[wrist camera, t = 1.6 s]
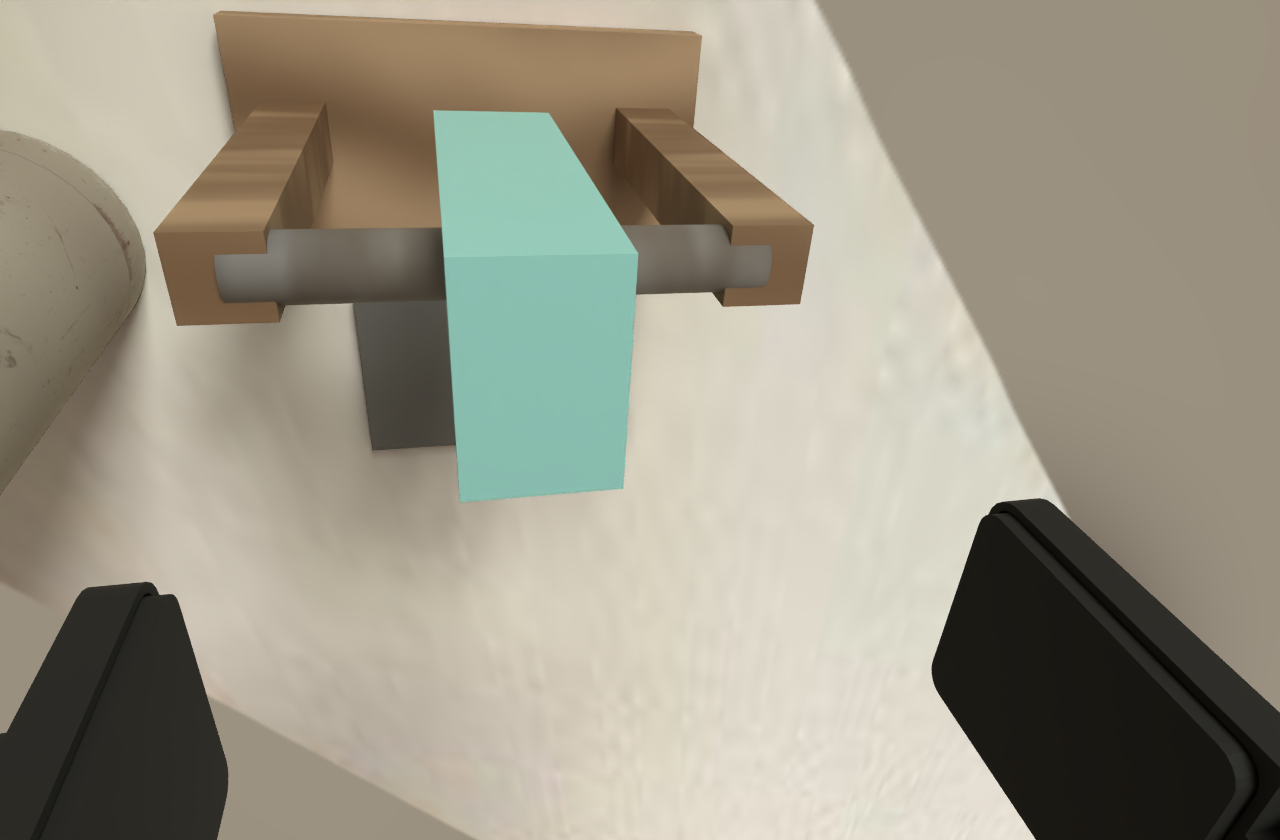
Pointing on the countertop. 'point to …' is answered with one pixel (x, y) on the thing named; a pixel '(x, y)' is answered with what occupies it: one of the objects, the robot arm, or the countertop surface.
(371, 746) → the countertop surface
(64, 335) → the thermos bottle
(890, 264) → the countertop surface
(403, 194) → the stand
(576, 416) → the tall mint green block
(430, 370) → the mat
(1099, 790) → the robot arm
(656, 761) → the countertop surface
